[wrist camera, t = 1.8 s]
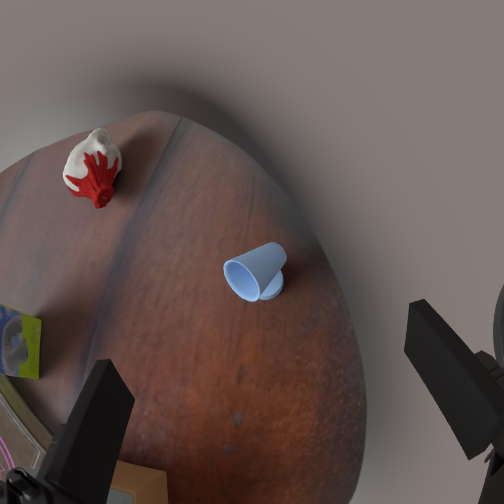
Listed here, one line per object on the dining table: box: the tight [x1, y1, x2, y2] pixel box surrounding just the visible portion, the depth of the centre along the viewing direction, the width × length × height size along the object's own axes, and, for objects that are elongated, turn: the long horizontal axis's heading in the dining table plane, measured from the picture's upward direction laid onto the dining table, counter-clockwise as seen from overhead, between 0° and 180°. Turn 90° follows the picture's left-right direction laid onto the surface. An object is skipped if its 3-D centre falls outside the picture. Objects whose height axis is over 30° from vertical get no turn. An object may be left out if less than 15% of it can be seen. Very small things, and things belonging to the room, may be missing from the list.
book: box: [0, 374, 54, 482], centre depth 27 cm, size 30×22×5 cm
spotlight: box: [224, 242, 287, 301], centre depth 34 cm, size 5×10×7 cm
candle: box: [63, 128, 122, 208], centre depth 45 cm, size 9×11×15 cm
